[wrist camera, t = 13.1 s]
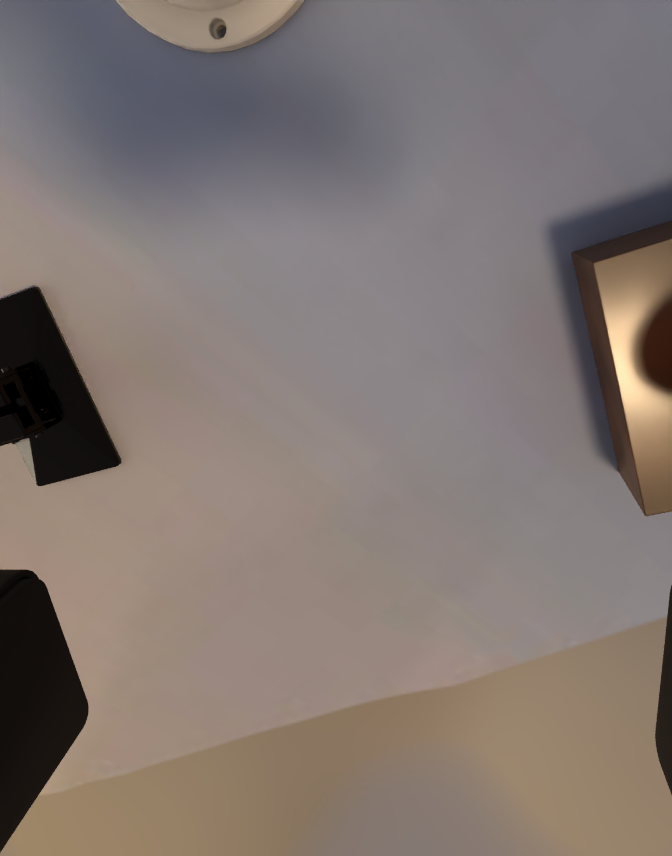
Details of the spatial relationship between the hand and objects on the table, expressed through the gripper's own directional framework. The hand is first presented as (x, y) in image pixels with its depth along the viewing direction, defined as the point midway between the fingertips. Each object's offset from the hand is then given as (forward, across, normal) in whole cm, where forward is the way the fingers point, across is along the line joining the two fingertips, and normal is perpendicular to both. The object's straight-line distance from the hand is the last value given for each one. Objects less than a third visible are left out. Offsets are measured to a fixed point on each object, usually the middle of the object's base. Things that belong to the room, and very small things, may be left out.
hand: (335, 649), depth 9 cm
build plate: (+27, +25, +3) cm, 37 cm away
